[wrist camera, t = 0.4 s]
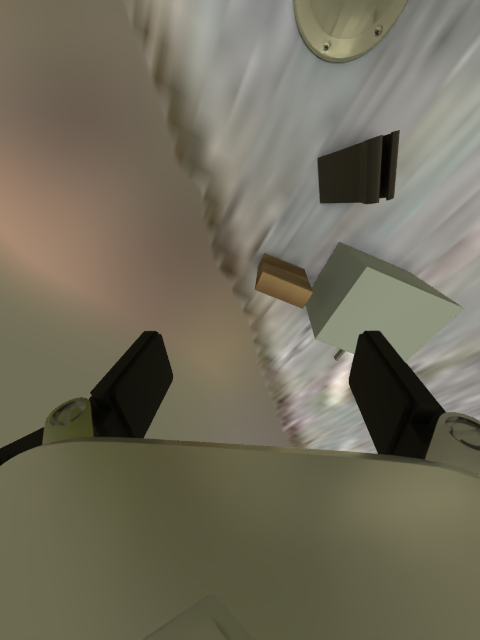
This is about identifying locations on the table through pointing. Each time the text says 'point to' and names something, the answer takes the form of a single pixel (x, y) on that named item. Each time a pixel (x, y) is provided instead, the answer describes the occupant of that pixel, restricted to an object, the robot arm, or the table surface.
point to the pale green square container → (375, 304)
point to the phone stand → (360, 171)
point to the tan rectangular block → (283, 281)
